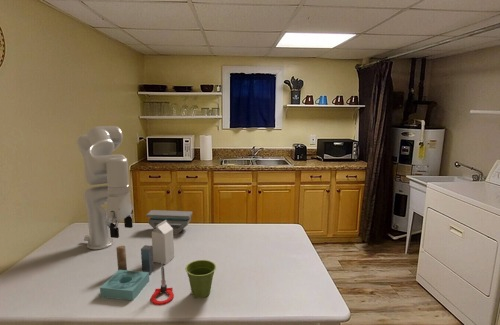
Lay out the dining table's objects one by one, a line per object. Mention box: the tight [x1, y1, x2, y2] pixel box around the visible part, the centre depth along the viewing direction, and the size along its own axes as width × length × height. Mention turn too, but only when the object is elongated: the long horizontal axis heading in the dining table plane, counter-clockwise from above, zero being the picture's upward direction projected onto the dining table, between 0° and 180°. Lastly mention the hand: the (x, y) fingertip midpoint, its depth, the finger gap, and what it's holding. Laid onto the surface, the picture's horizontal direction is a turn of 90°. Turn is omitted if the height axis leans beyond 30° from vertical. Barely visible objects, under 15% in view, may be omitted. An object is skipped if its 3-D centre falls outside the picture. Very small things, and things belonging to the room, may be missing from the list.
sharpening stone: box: [146, 209, 193, 235], centre depth 183 cm, size 25×8×11 cm, turn 86°
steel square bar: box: [140, 244, 155, 276], centre depth 137 cm, size 4×4×12 cm
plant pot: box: [184, 259, 217, 299], centre depth 122 cm, size 12×12×11 cm
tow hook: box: [150, 262, 175, 306], centre depth 119 cm, size 8×13×9 cm
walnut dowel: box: [115, 245, 128, 271], centre depth 137 cm, size 4×4×12 cm
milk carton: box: [151, 220, 175, 265], centre depth 148 cm, size 7×7×19 cm
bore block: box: [99, 269, 150, 301], centre depth 126 cm, size 13×13×4 cm
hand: (122, 232), depth 122 cm, fingers open, 9 cm apart
